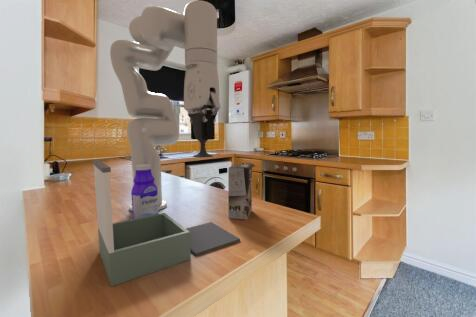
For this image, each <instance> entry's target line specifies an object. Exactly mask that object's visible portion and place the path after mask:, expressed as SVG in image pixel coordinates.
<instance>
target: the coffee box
mask: <svg viewBox="0 0 476 317" xmlns="http://www.w3.org/2000/svg"><path fill="white" fill-rule="evenodd" d="M227 176H228V179H227V180H228V183H227V184H228V186H227V187H228V195H227V196H228V213H227V214H228V217H227V218H229V219H236V220H237V219H238V220H248V219H249V217H250V216H251V213H252V210H253V198H252V197H253V194H252V193H253V183H252V182H253V179H252V178H253V165H252V164H247V163H246V164H233V165H231V166H230V167H228V175H227Z"/></svg>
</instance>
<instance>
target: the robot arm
mask: <svg viewBox="0 0 476 317" xmlns="http://www.w3.org/2000/svg"><path fill="white" fill-rule="evenodd" d="M141 12H142V13H141V14H140V15H139V16H136V17H134V18H132V20H131V21H130V23H129V26H128V30H129V31H128V32H129V34H130V36H131V37H132V39H133V40H134V41H133V40H127V39H117V40H115V41H113V42H112V44H111V46H110V49H109V50H110V52H109V56H110V61H111V66H112V68H113V71H114V73H115V75H116V77H117V79H118V81H119V83H120V86H121V90H122V94H123V99H124V103H125V107H126V110H127V112H128V115H129V116H131V117H132V118H135V119H131V120H130V121H129V122H128V124H127V126H126V133H127V137H128V142H129V143H128V144H129V148H130V154H131V170H132V171H131V172H132V187H133V186H134V184H135V183H134V181H133V180H134V178H135V175H136V165H141V164H150V165H151V173H152V176H153V177H154V179H155V180H154V183H155V185H156V187H157V191H158V211H160V210H162V209H164V208H166V207H167V201H165V200H164V199H163V194H162V193H163V192H162V191H163V190H162V162H161V157H160V154H159V152H158V151H157V150H156V149H155V147H156V146H170V145H171V146H172V145H174V144H176V143H177V142H178V140H179V136H180V130H179V126H178V121H177V118H176V114H175V110H174V106H173V104H172V103H173V102H172V101H171V98H169V97H168V96H167V95H166V94H163V93H158V92H157V93H155V92H151V91H149V89H148V86H147V82H146V80H145V78H144V77H143V76H142V74H141V73H139V71H138V70H137V69H143V70H149V71H159V70H161V69H162V67H163V66H164V64H165V63H166V61H167V60H168V57H170V55H171V53H172V52H173V50H174V47H177V48H180V49H182V50H184V67H185V72H184V74H185V75H184V82H183V84H184V86H183V109H184V110H185V111H186V112H187V115H188V114H192V112H193V110H196V109H201V110H202V113H203V115H202V117H203V122H201V126H202V140H207V141H209V140H210V141H211V140H212V141H213V140H215V138H216V136H215V134H216V133H215V132H216V131H215V130H216V129H215V128H216V127H215V124H216V122H217V115H218V112H219V111H220V109H221V103H220V81H219V73H218V13H217V9H216V7H215V6H214V5H213V4H212V3H210V2H208V1H205V0H192V1H190V2H188V3H187V4H186V5H185V7H184V10H183V14H182V13H179V12H178V11H175V10H171V9H169V8H166V7H162V6H157V5H156V6H155V5H153V6H147V7H145V8H144V9H143V11H141ZM136 68H137V69H136ZM207 106H212V107H211V108H205V107H207ZM207 112H208V113H207ZM189 122H190V139H191V140H197V139H196V138H195V136H194V132H193V125H192V121H191V118H190V117H189ZM154 146H155V147H154ZM128 208H129V211H130V212H133V210H132V203H130V204H129V207H128Z"/></svg>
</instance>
